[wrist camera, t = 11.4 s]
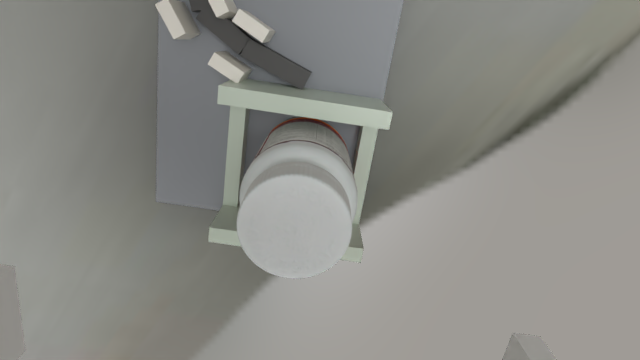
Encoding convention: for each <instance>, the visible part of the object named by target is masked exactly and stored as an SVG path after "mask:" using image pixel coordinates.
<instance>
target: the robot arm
mask: <svg viewBox="0 0 640 360" xmlns="http://www.w3.org/2000/svg"><path fill="white" fill-rule="evenodd" d="M25 351H26V349H25V341H24V334H23V326H22V318H21V311H20V303H19V296H18V288H17V281H16V273H15V266H9V265H1V264H0V360H17V359H18V358H19V357H20V356H21V355H22V354H23V353H24V352H25ZM502 360H557V359H556V357H555V356H554V355H553V353H552V352H551V350H550V349H549V348H548V346H547V345H546V344H545V342H544V341H543V339H542V338H541V337H540V336H535V335H527V334H520V333H512V336H511V338H510V341H509V344H508V346H507V349H506V351H505V354H504V356H503V359H502Z"/></svg>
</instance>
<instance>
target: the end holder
mask: <svg viewBox="0 0 640 360" xmlns="http://www.w3.org/2000/svg"><path fill="white" fill-rule="evenodd" d="M217 104H222V105H228V106H230V117H229V130H228V143H227V156H226V169H225V182H224V196H223V205H222V207H221V209H220V210H219V212H218V214H217V215H216V217H215V219H214V220H213V222H212V224H211V225H210V227H209V239H208V242H213V243H221V244H228V245H235V246H241V244H240V241H239V238H238V235H237V215H238V211H239V208H240V201H239V195H240V187H241V183H242V180H243V175H244V164H245V154H246V143H247V132H248V121H249V110H250V109H254V110H261V111H267V112H274V113H281V114H287V115H294V116H300V117H307V118H313V119H320V120H327V121H333V122H340V123H346V124H353V125H359V126H360V130H359V135H358V141H357V146H356V151H355V157H354V162H353V167H352V170H353V175H354V178H355V183H356V186H357V197H358V202H357V210H356V214H355V217H354V220H353V222H352V236H351V240H350V243H349V246H348V248H347V250H346V252H345V254H344V255H343V256H342V258H341V259H340V260H345V261H352V262H359V263H361V258H362V254H363V244H362V238H361V233H360V227H359V221H360V216H361V211H362V206H363V201H364V196H365V192H366V187H367V182H368V177H369V172H370V167H371V162H372V157H373V152H374V148H375V143H376V138H377V133H378V128H379V129H386V130H389V128H390V123H391V118H392V114H393V112H392V111H391V110H390V109H389V108H388V107H387V106H386V105H385V104H384V102H383V101H382V100H381V99H376V98H369V97H363V96H356V95H350V94H343V93H337V92H331V91H324V90H318V89H311V88H305V87H304V88H303V89H299V88H297V87H295V86H292V85H286V84H279V83H273V82H266V81H260V80H254V79H245V80H243V81H241V82H239V83H235V82H233V81H232V80H229V81H227V82H225V83H223V84H220V85H218V100H217Z"/></svg>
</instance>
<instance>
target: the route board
mask: <svg viewBox="0 0 640 360" xmlns="http://www.w3.org/2000/svg"><path fill="white" fill-rule="evenodd" d="M403 1H404V0H159V2H158V3H157V4H155V6H156V8H157V10H158V80H157V150H156V202H161V203H169V204H176V205H183V206H190V207H197V208H204V209H211V210H218V211H219V210H220V209H221V207H222V205H223V196H224V182H225V169H226V156H227V143H228V130H229V117H230V106H228V105H222V104H217V100H218V85H220V84H223V83H225V82H227V81H229V80H232V81H233V82H235V83H239V82H241V81H243V80H245V79H254V80H260V81H266V82H273V83H279V84H286V85H292V86H295V87H297V88H299V89H303V88H304V87H305V88H311V89H318V90H324V91H331V92H337V93H343V94H350V95H356V96H363V97H369V98H376V99H381V100H382V101H383V99H384V94H385V89H386V84H387V80H388V75H389V70H390V65H391V60H392V55H393V50H394V45H395V40H396V35H397V30H398V26H399V21H400V16H401V11H402V6H403ZM296 117H300V116H294V115H287V114H281V113H274V112H267V111H261V110H254V109H250V110H249V121H248V132H247V143H246V154H245V164H244V175H245V173H246V171H247V169H248V168H249V166H250V165H251V163H252V162H253V160H254V158H255V156H256V155H257V153H258V151H259V149H260V147H261V146H262V144H263V142H264V140H265V139H266V137H267V136H268V134H269V133H270V132H271V131H272V130H273V129H274V128H275V127H276V126H277V125H279V124H280V123H282V122H284V121H286V120H288V119H291V118H296ZM322 121H324V122H326V123H328V124H329V125H331V126H332V127H333V128H334V129H335V130H336V131H337V132H338V133H339V134H340V135H341V137H342V138H343V140H344V142H345V144H346V147H347V150H348V154H349V158H350V162H351V166H352V167H353V162H354V157H355V151H356V146H357V141H358V135H359V130H360V126H359V125H353V124H346V123H340V122H333V121H327V120H322ZM244 175H243V177H244Z"/></svg>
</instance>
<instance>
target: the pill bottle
mask: <svg viewBox="0 0 640 360" xmlns="http://www.w3.org/2000/svg"><path fill="white" fill-rule="evenodd" d="M239 201H240V208H239V211H238V215H237V235H238V238H239V241H240V244H241V246H242V248H243V250H244V252H245V253H246V255H247V256H248V257H249V258H250V259H251V260H252V261H253V263H255V264H256V265H257V266H258V267H260V268H261V269H263V270H264V271H266V272H268V273H270V274H272V275H276V276H279V277H283V278H290V279H302V278H309V277H313V276H316V275H318V274H321V273H323V272H325V271H327V270H329V269H330V268H331V267H332V266H334V265H335V264H336V263H337V262H338V261H339V260H340V259H341V258H342V256H343V255H344V254H345V252H346V250H347V248H348V246H349V243H350V240H351V236H352V222H353V220H354V217H355V214H356V210H357V202H358V197H357V186H356V183H355V178H354V175H353V170H352V166H351V162H350V158H349V154H348V150H347V147H346V144H345V142H344V140H343V138H342V137H341V135H340V134H339V133H338V132H337V131H336V130H335V129H334V128H333V127H332V126H331V125H329V124H328V123H326V122H324V121H322V120H320V119H313V118H307V117H296V118H291V119H288V120H286V121H284V122H282V123H280V124H279V125H277V126H276V127H275V128H274V129H273V130H272V131H271V132H270V133H269V134H268V136H267V137H266V139H265V140H264V142H263V144H262V146H261V147H260V149H259V151H258V153H257V155H256V156H255V158H254V160H253V162H252V163H251V165H250V166H249V168H248V169H247V171H246V173H245V175H244V177H243V180H242V183H241V187H240V195H239Z"/></svg>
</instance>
